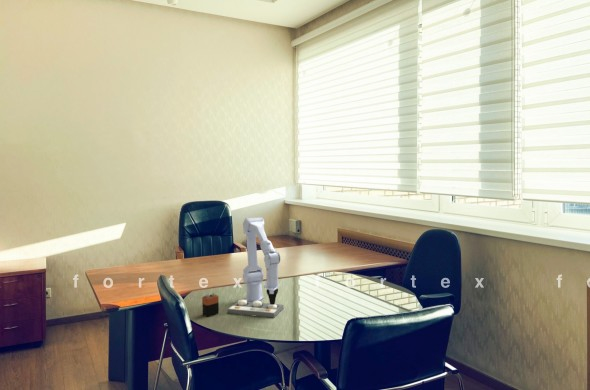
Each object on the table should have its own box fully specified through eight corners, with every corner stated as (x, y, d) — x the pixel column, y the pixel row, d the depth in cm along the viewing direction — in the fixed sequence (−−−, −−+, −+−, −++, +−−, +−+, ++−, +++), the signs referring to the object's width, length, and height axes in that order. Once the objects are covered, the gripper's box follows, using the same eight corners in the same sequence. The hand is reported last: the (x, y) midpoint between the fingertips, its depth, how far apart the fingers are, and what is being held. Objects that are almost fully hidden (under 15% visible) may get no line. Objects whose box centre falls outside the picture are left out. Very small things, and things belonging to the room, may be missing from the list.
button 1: (240, 303, 242) (240, 299, 242) (248, 304, 241) (248, 300, 241) (236, 306, 238) (236, 301, 238) (244, 307, 237) (244, 302, 237)
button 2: (254, 305, 240) (254, 300, 240) (263, 306, 239) (263, 301, 238) (251, 307, 236) (251, 303, 235) (259, 308, 234) (259, 303, 234)
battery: (202, 315, 229) (201, 294, 229) (213, 312, 234) (213, 292, 233) (207, 317, 226) (207, 296, 226) (219, 314, 231) (218, 293, 230)
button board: (239, 304, 245) (238, 300, 245) (283, 308, 239) (283, 304, 238) (227, 313, 232) (227, 308, 232) (274, 317, 225) (274, 312, 225)
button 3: (269, 308, 238) (269, 303, 237) (278, 309, 236) (278, 304, 236) (266, 311, 233) (266, 306, 233) (275, 312, 232) (275, 307, 232)
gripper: (264, 273, 241) (265, 299, 242) (263, 280, 226) (263, 308, 228) (278, 273, 241) (279, 299, 242) (278, 280, 226) (278, 308, 228)
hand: (272, 304), depth 235 cm, fingers closed
